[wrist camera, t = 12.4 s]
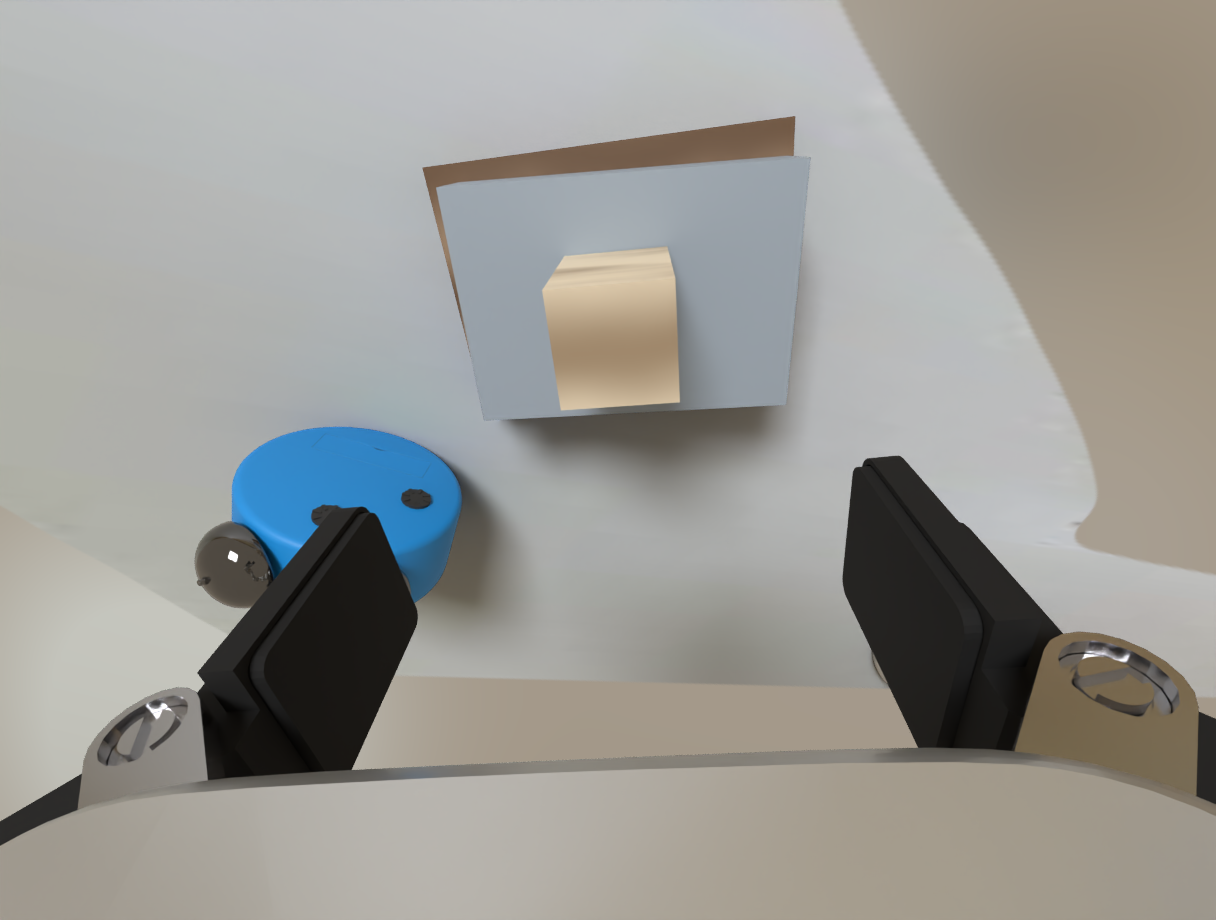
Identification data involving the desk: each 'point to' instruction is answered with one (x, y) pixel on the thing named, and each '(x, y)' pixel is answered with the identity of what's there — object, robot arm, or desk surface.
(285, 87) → the desk surface
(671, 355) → the beech block
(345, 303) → the desk surface
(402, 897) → the robot arm
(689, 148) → the walnut slab
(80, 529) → the desk surface
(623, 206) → the slate slab
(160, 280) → the desk surface
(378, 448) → the alarm clock
